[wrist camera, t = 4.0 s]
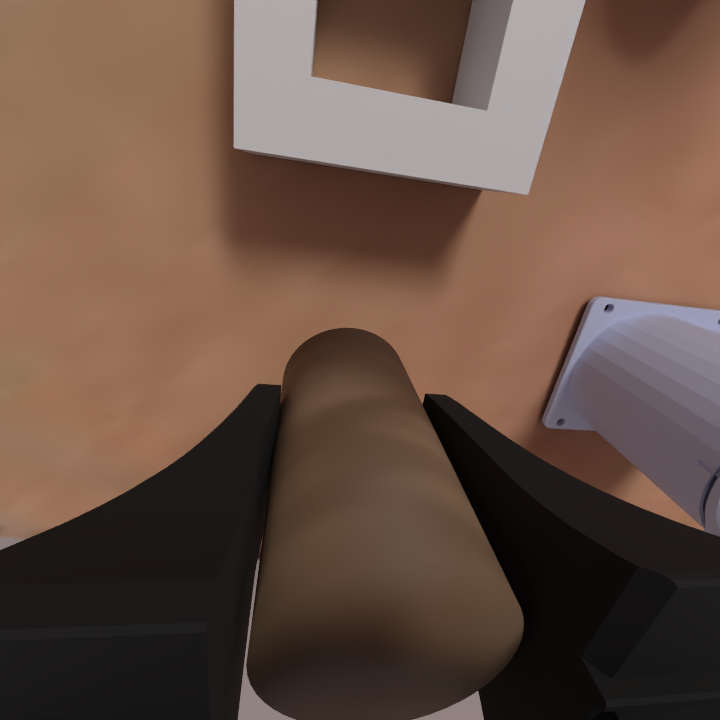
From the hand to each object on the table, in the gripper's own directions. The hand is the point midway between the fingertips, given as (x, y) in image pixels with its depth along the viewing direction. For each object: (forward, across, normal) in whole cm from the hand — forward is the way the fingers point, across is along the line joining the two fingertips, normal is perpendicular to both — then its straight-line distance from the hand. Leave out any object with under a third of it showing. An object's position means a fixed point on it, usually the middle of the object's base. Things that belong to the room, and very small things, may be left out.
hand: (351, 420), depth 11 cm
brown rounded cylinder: (+2, 0, 0) cm, 2 cm away
